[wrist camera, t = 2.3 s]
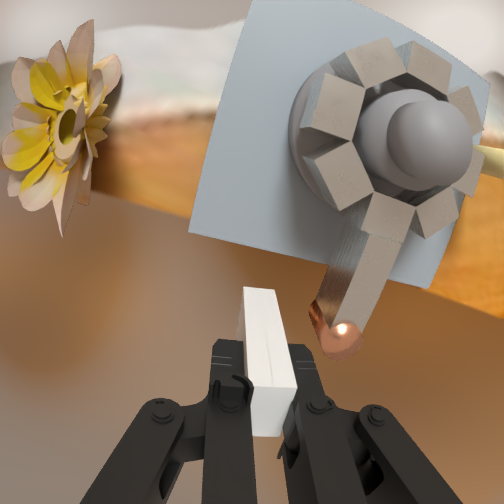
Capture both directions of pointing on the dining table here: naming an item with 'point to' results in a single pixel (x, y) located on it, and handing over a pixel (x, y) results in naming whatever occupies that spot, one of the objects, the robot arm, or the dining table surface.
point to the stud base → (260, 141)
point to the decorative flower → (58, 124)
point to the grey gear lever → (360, 188)
